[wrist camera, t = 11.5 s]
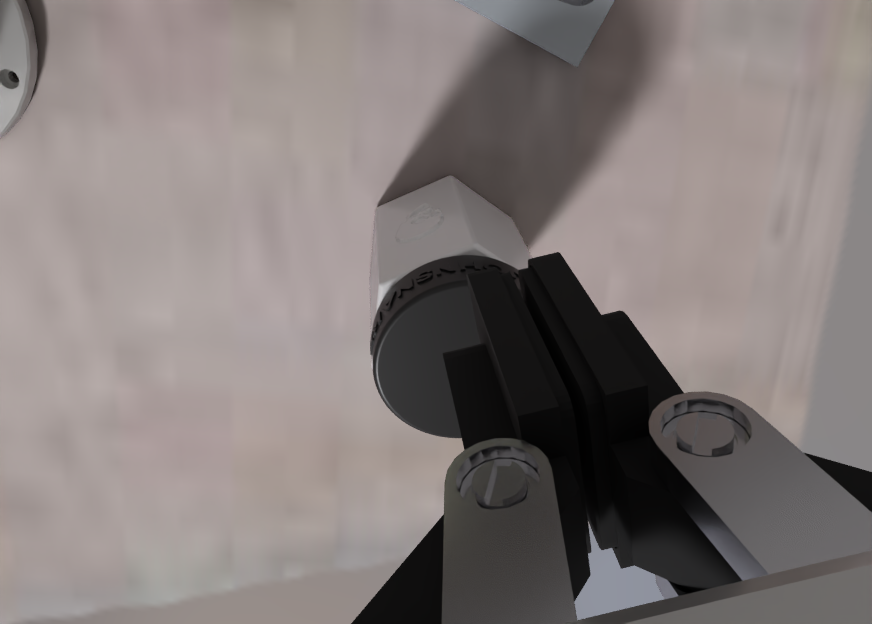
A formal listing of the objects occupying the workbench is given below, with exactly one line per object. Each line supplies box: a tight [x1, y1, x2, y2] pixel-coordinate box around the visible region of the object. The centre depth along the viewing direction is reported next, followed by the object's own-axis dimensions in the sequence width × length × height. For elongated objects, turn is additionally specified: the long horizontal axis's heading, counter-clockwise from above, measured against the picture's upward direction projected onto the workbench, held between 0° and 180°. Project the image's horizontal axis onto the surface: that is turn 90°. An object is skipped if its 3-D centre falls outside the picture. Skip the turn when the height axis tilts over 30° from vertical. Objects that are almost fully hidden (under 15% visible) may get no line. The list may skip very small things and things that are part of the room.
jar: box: [369, 175, 532, 438], centre depth 33 cm, size 9×8×12 cm
